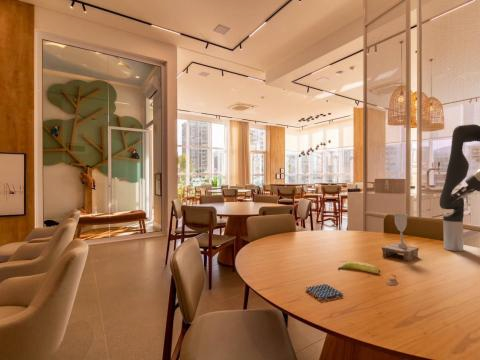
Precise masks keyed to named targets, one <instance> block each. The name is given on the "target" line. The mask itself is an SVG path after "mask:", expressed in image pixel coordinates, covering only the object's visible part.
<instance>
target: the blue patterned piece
mask: <svg viewBox="0 0 480 360" xmlns="http://www.w3.org/2000/svg"><path fill="white" fill-rule="evenodd" d="M305 288H306V289H305V292H307V291H308V292H309V293H310V295H311V296H312V297H314V296H315V297H317V298H316V299H317V300H318V301H321V302H327V301H331V300H332V301H333V300H337V299H343V298H345V296H344V293H343V292H342V291H340V290H338V289H336V288H334V287H333V286H331V285H329V284H325V283H323V284H318V285H316V286H315V285H312V286H309V287H307V286H305ZM309 293H308V294H309ZM315 297H314V298H315Z"/></svg>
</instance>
